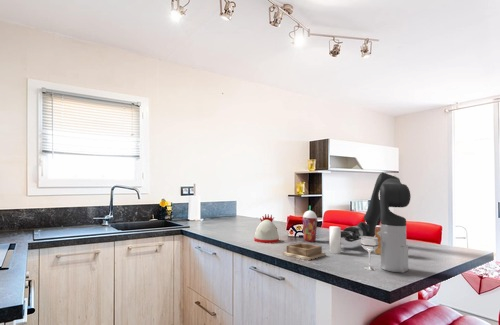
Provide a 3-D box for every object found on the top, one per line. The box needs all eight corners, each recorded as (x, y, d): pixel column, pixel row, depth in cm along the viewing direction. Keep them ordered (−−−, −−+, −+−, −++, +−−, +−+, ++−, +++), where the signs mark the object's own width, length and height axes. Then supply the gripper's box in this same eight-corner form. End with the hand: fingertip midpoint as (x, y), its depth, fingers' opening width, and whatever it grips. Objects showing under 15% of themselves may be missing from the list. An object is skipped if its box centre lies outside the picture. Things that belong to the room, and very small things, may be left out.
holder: (325, 255, 142) (325, 246, 142) (309, 260, 132) (309, 250, 132) (299, 250, 152) (299, 241, 152) (282, 254, 141) (282, 245, 142)
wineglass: (381, 268, 122) (381, 237, 122) (375, 272, 117) (375, 239, 117) (364, 265, 126) (364, 235, 127) (357, 268, 121) (357, 237, 122)
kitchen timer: (277, 243, 167) (278, 215, 168) (252, 242, 169) (253, 214, 170) (279, 239, 181) (279, 213, 182) (256, 238, 183) (256, 212, 184)
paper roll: (342, 252, 149) (342, 227, 150) (337, 254, 145) (337, 228, 146) (332, 250, 152) (332, 226, 153) (327, 252, 149) (327, 227, 149)
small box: (374, 254, 147) (374, 226, 148) (376, 251, 152) (376, 225, 153) (393, 256, 143) (393, 228, 144) (394, 254, 148) (394, 226, 149)
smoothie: (319, 240, 178) (319, 205, 179) (314, 243, 171) (314, 206, 172) (305, 239, 182) (305, 204, 184) (300, 241, 175) (300, 205, 177)
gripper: (340, 224, 169) (325, 227, 157) (366, 227, 159) (352, 230, 147) (340, 238, 168) (325, 242, 156) (366, 242, 158) (352, 247, 146)
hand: (338, 236), depth 152 cm, fingers open, 8 cm apart
